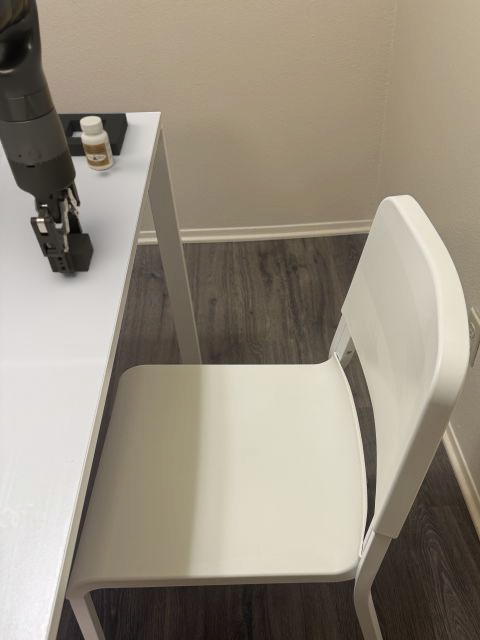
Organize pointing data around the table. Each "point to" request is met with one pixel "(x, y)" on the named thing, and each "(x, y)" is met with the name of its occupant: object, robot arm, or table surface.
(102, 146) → the pill bottle
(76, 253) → the small pad
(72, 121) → the base pad
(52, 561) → the table surface
